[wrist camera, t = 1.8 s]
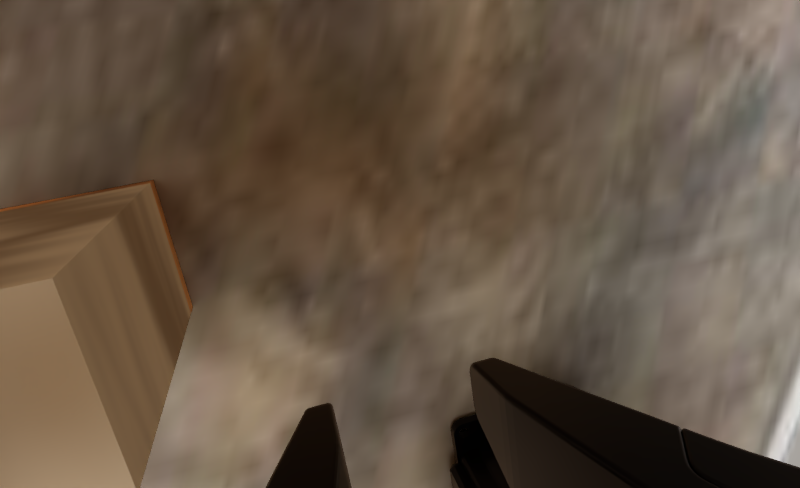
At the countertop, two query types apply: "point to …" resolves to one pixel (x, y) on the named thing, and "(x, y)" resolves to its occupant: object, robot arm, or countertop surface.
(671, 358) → the countertop surface
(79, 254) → the birch block
